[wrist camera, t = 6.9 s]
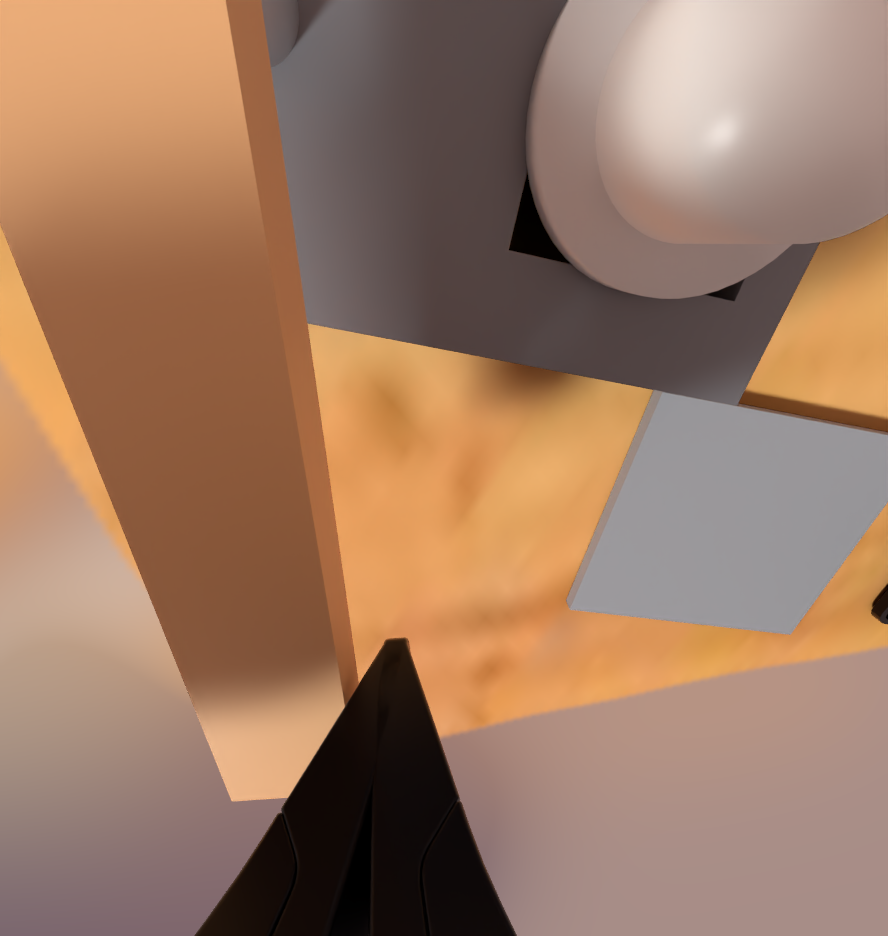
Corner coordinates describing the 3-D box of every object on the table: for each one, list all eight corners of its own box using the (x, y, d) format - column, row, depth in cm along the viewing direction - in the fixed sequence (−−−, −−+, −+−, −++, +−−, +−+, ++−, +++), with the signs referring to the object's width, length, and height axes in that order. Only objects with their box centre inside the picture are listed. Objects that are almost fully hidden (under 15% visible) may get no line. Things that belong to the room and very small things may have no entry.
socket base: (866, -69, 10) (1666, -620, 4) (675, 375, 14) (883, 479, 8) (250, -301, 8) (-340, -2251, 2) (246, 289, 12) (71, 337, 6)
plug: (778, 37, 11) (1308, -262, 4) (672, 302, 13) (907, 355, 7) (537, -41, 10) (757, -553, 3) (474, 258, 12) (536, 274, 6)
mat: (916, 437, 16) (930, 443, 15) (781, 625, 20) (790, 634, 19) (654, 387, 14) (662, 392, 14) (566, 600, 18) (569, 609, 18)
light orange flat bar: (369, 731, 10) (364, 791, 9) (247, 739, 10) (226, 801, 8) (201, -514, 3) (96, -888, 2) (-182, -537, 3) (-495, -948, 2)
